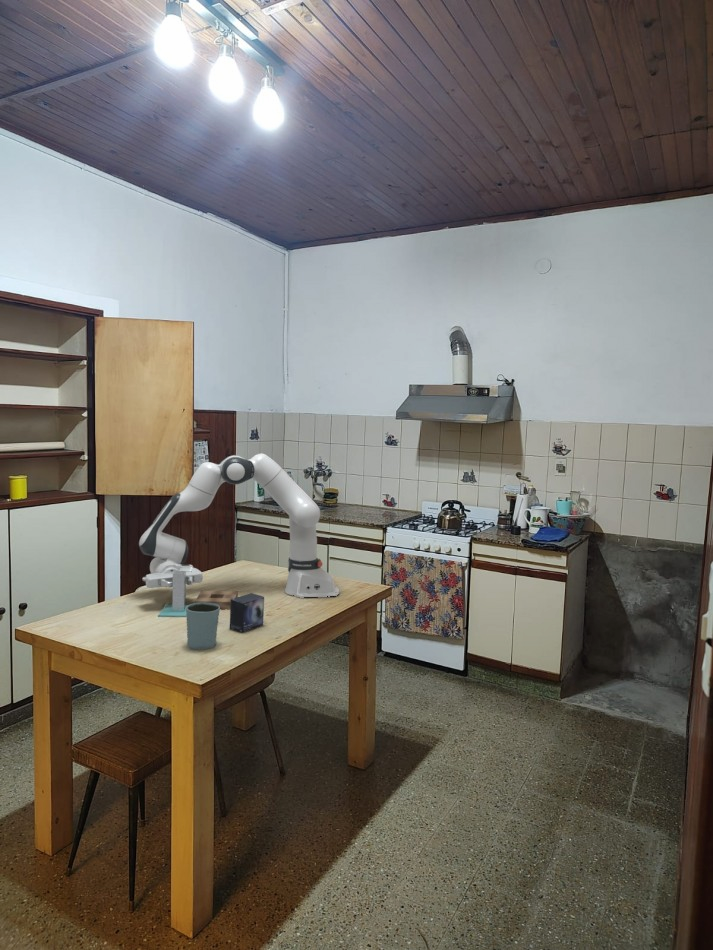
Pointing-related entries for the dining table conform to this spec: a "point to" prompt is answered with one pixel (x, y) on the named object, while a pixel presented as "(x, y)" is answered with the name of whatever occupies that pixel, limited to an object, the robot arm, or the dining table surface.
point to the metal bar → (179, 591)
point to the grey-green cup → (202, 625)
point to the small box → (246, 612)
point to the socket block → (217, 598)
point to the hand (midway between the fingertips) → (180, 583)
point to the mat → (168, 612)
